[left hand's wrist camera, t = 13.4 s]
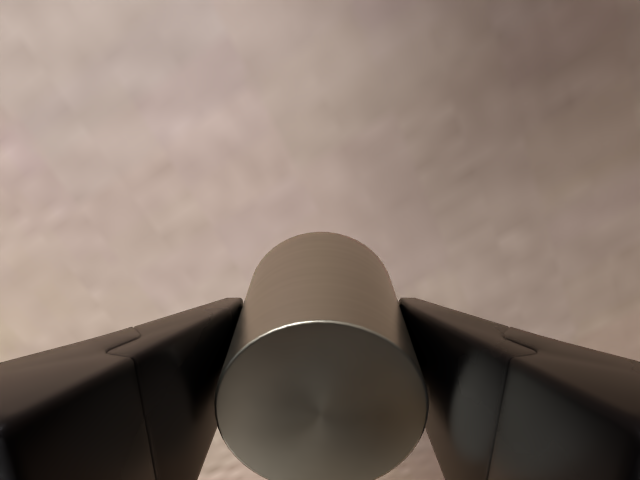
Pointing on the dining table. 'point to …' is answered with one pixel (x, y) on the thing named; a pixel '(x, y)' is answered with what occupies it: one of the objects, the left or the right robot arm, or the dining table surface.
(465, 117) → the dining table surface
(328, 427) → the canister
